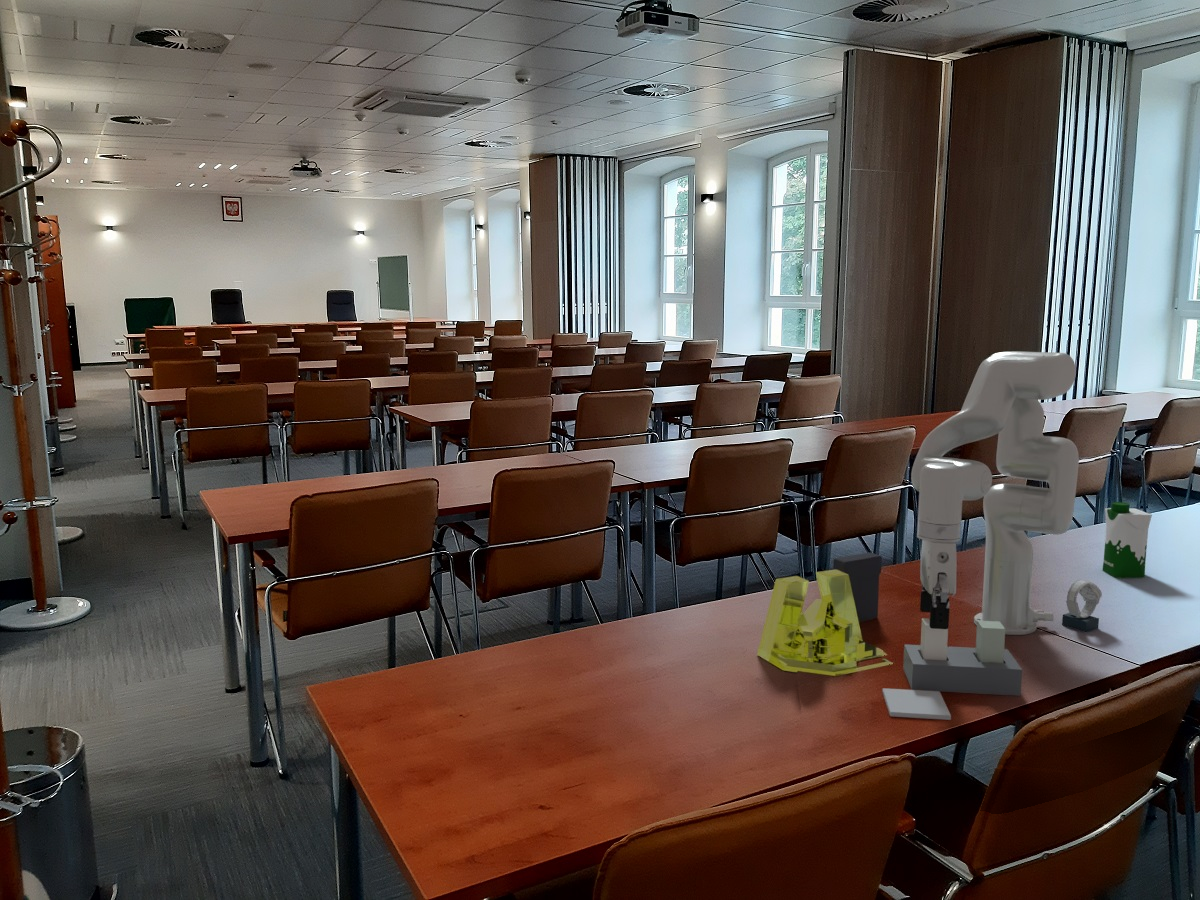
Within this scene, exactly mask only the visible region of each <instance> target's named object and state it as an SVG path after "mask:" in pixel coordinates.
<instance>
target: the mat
mask: <svg viewBox="0 0 1200 900" xmlns="http://www.w3.org/2000/svg"><path fill="white" fill-rule="evenodd" d="M882 696H883V698H884V701H885V704H886V708H887V710H888V714H889V716H890V717H894V718H895V717H897V718H914V719H928V720H929V719H931V720H944V721H945V720H946V721H947V720H948V721H951V720H952V715H951V713H950V711H949V709H948V707H947V704H946V702H945V700H944V697H943V696H942V693H941V691H926V690H912V689H903V688H902V689H901V688H900V689H899V688H882Z"/></svg>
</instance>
